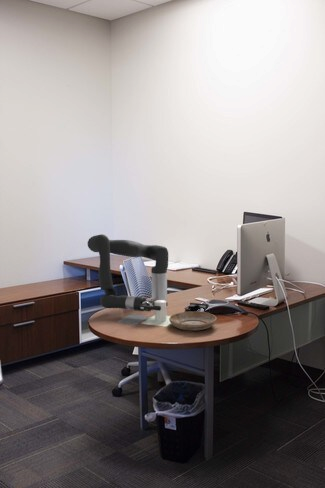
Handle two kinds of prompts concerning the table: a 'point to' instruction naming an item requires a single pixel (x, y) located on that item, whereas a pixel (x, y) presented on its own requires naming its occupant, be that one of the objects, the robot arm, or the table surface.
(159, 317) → the white lidded canister
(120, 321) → the mat
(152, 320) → the board
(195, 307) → the end cap
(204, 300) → the table surface
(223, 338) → the table surface
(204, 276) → the table surface
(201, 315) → the ceramic bowl
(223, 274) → the table surface
